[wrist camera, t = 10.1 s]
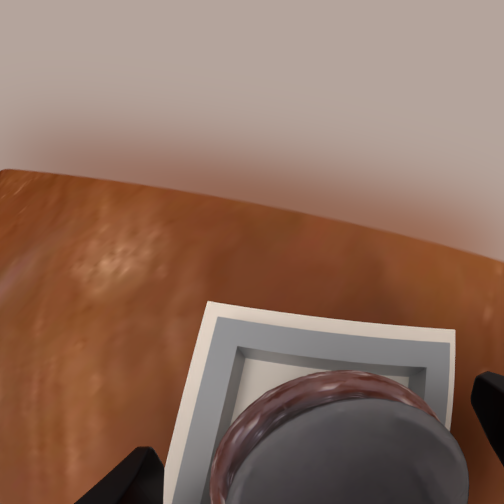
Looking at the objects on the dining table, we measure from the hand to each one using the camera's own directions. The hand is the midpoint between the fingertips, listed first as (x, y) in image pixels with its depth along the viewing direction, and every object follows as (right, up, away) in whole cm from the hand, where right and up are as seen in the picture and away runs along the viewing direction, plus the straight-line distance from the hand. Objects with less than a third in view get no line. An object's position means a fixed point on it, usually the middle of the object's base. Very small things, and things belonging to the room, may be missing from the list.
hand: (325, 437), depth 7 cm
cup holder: (+1, -5, +7) cm, 9 cm away
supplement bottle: (+1, -5, +6) cm, 8 cm away
